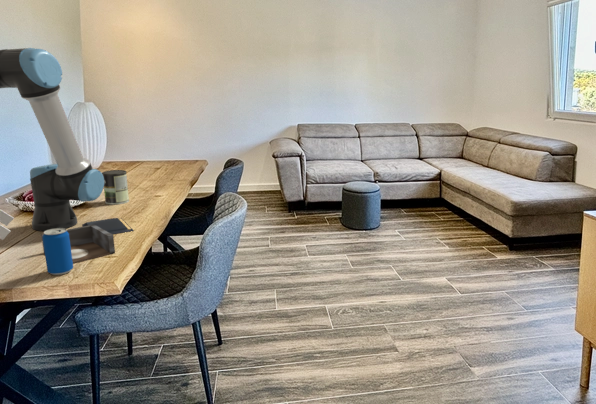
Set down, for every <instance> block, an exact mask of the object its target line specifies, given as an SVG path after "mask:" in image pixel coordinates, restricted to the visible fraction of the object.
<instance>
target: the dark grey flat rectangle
mask: <svg viewBox="0 0 596 404" xmlns="http://www.w3.org/2000/svg"><path fill="white" fill-rule="evenodd" d="M93 224H94V225H96V226H98V227H100V228H102V229H103V230H105V231H107V232H109V233H111V234H112V235H113V236H114V235H119V234H120V235H121V234H124V233H125V232H126V233H130V232H131V231H132V232H134V231H135V230H134V229H133V228H132V227H131V226H130V225H129V224H128V223H127V222H126V221H125V220H124V219H123V218H120V217H119V218H118V217H114V218H104V219H100V220H91V221H88V222H86V221H85V223H82V224H81V227H83V226H88V225H93Z"/></svg>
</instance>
